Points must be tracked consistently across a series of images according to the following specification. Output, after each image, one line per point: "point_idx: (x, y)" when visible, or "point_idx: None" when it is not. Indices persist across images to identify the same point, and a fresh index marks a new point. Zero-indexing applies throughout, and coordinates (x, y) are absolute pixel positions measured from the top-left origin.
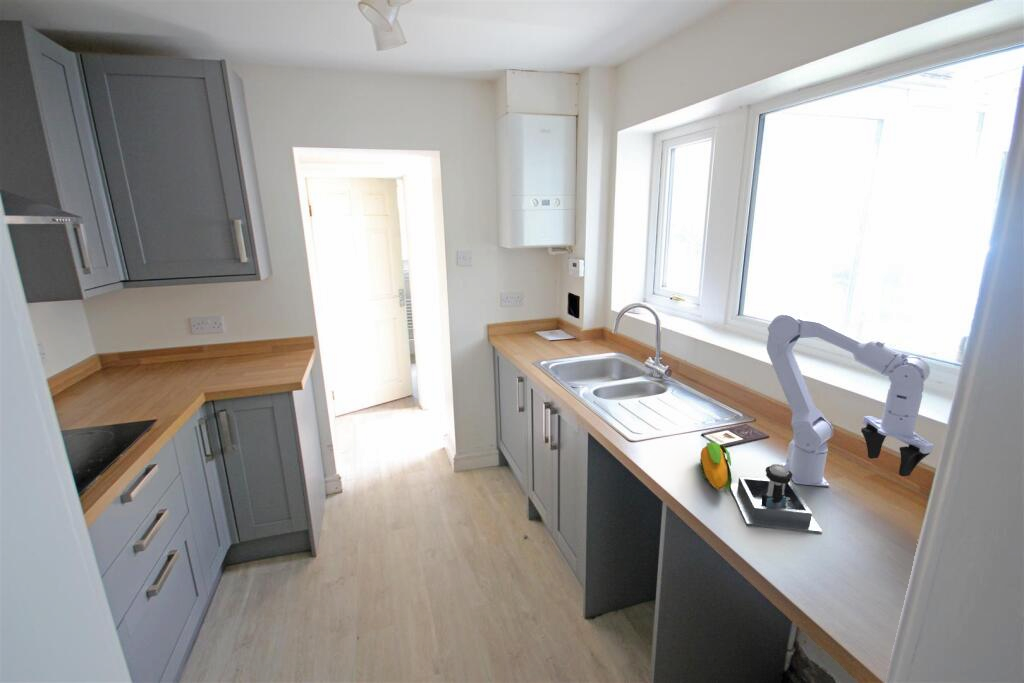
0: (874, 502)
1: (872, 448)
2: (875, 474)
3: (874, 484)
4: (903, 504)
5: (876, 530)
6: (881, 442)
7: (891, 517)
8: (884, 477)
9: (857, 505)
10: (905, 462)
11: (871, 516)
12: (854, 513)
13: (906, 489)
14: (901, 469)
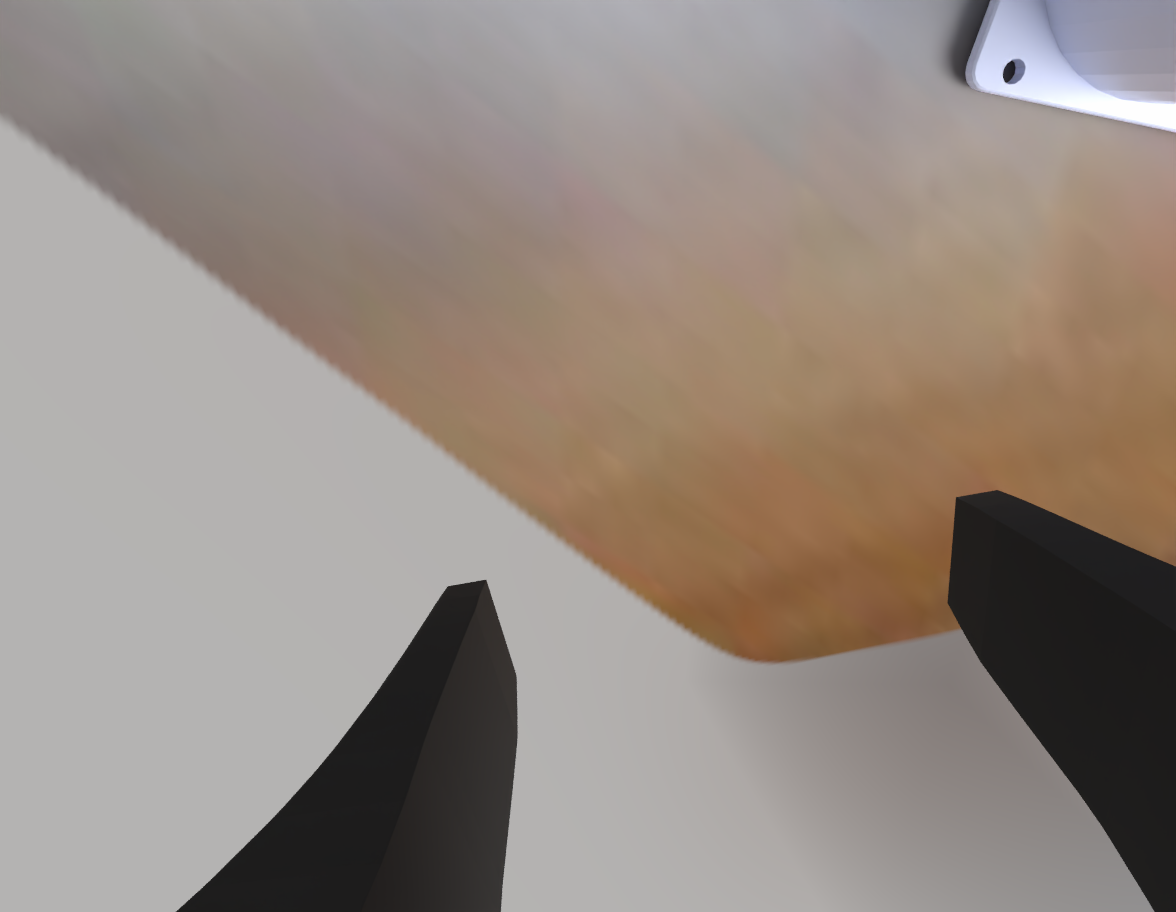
0: (683, 348)
1: (1084, 620)
2: None
3: (899, 504)
4: (646, 528)
5: (279, 75)
6: (1137, 848)
7: (486, 341)
8: None
9: (650, 168)
10: (312, 789)
11: (490, 182)
12: (528, 42)
13: (805, 649)
14: (426, 644)
